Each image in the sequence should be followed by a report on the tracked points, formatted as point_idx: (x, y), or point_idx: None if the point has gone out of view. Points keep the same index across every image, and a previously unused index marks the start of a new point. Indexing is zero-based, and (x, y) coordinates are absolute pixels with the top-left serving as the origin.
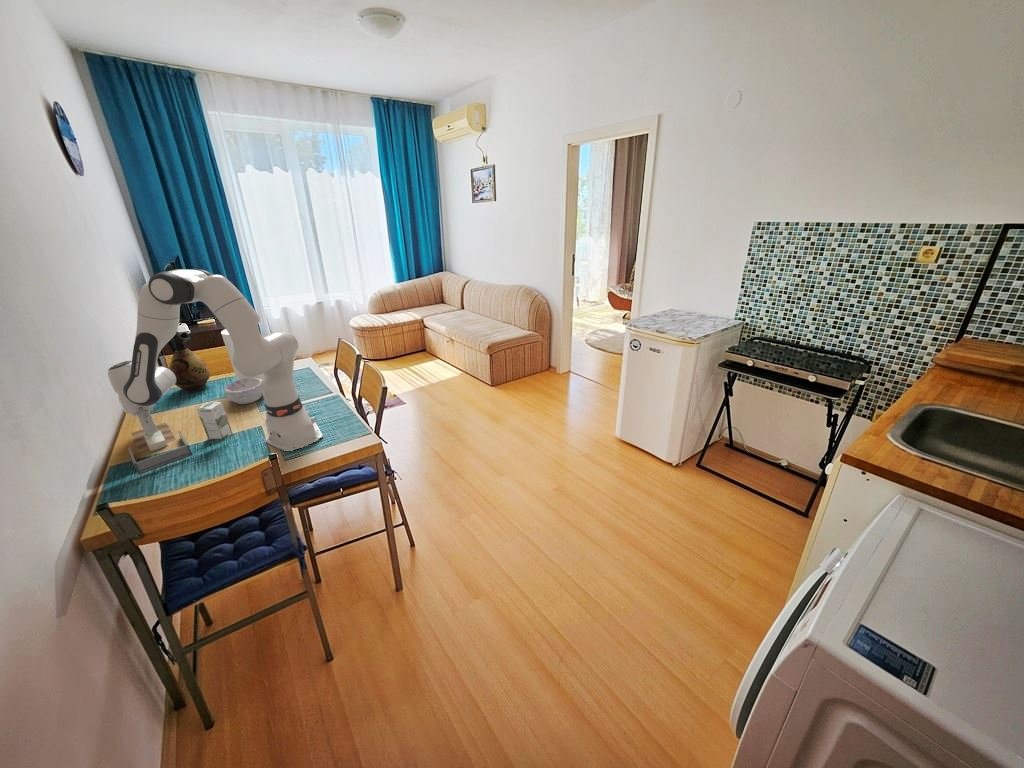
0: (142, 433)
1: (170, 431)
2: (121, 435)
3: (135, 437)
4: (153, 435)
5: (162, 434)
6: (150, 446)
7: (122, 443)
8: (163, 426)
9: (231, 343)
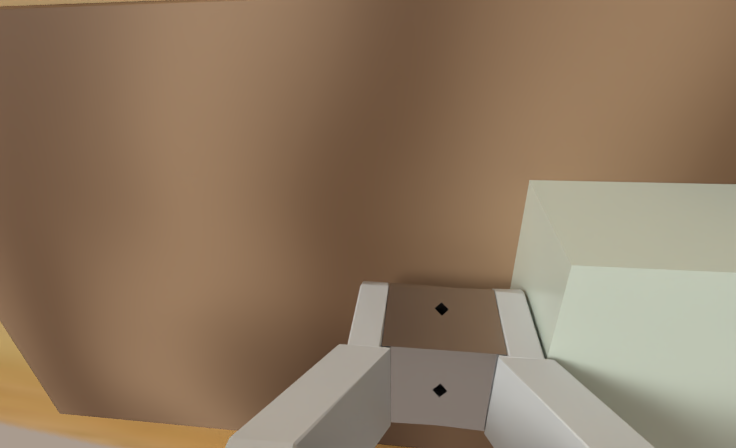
0: (149, 353)
1: (425, 8)
2: (17, 417)
3: (230, 415)
4: (733, 412)
5: (439, 172)
6: None
7: (219, 444)
8: (21, 91)
9: None
